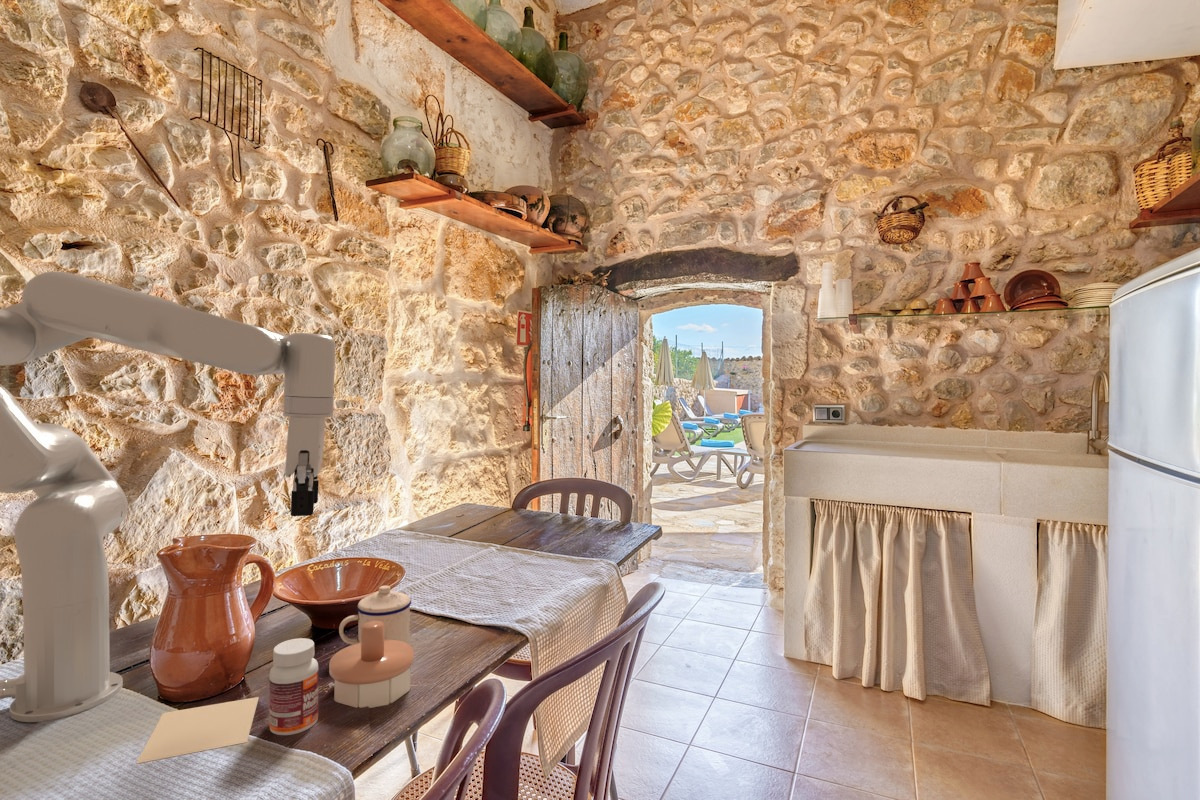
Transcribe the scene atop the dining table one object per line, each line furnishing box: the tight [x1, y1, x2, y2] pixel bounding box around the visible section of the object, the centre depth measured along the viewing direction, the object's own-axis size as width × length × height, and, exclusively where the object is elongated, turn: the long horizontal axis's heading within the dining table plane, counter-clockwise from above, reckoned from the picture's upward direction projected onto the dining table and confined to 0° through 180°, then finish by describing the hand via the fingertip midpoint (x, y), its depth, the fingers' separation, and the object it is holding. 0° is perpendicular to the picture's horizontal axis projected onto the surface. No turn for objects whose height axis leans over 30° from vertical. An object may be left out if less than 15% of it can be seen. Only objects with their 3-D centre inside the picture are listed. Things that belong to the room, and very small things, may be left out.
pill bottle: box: [268, 637, 319, 736], centre depth 83 cm, size 6×6×11 cm
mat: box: [136, 696, 260, 765], centre depth 82 cm, size 12×12×1 cm
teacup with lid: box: [338, 585, 412, 645], centre depth 105 cm, size 12×9×12 cm
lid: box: [328, 621, 415, 685], centre depth 93 cm, size 12×12×6 cm
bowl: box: [333, 666, 412, 709], centre depth 93 cm, size 11×11×4 cm
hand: (304, 509), depth 100 cm, fingers open, 9 cm apart
